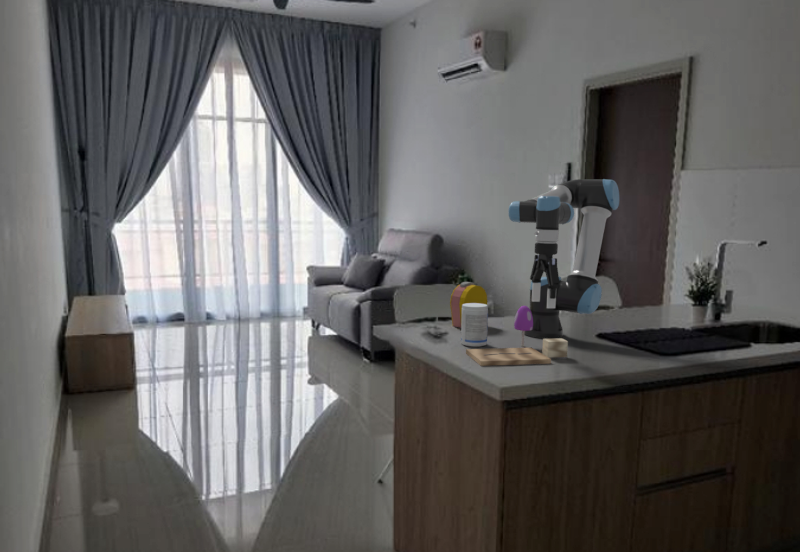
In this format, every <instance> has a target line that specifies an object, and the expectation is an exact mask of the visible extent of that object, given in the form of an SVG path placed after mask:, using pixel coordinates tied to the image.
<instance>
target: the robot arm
mask: <svg viewBox="0 0 800 552" xmlns="http://www.w3.org/2000/svg"><path fill="white" fill-rule="evenodd" d="M508 206H509V207H508V217H509V220H510V221H511V222H514V223H524V224H525V223H526V224H527V223H529V224H531V223H532V224H535V232H534V233H533V234H534V235H535V237H534V240H535V241H536V242H535V243H534V261H533V263H532V268H531V273H530V277H529V280H530V281H531V282H530V286H529V287H530V288H529V307H528V308H529V309H530V311H531V313H532V317H533V329H532V330H530V331H525V332H524V336H525V335H526V336H527V337H531V338H538V339H558V338H562V337H564V335H563V334H564V330H563V326H562V322H561V318H560V311H561V312H568V313H576V314H580V315H583V314H584V315H585V314H586V315H591V314H593V313H594V312H595V311H597V309H598V307H599V305H600V303H601V300H602V295H603V294H602V293H603V292H602V291H603V290H602V289H603V288H602V286H601V285H600V284H599V280H598V278H597V277H596V274H597V269H598V263H599V259H600V254H601V248H602V243H603V238H604V232H605V227H606V222H607V219H608V218H609V217H611V216H612V213H613V211H616V210H617V209H618V207H619V206H620V191H619V186H618V184H617V182H616V181H615V180H613V179H605V178H603V179H596V178H595V179H590V178H589V179H588V178H587V179H586V178H585V179H582V178H581V179H580V178H579V179H571V180H567V181H565V182H562V183H558V184H557V185H555V186H553V187H552V188H551V189H550V190H549V191H547V192H544V193H541V194H539V195H537V196H535V197H532V198H530V199H527V200H524V201H523V200H522V201H520V200H514V201H512V202H511V203H510V205H508ZM574 209H580V212H581V213H582V215H583V218H582V223H581V228H580V233H579V237H578V244H577V247H576V252H575V258H574V263H573V268H572V271H571V272H570V273H569V274H567V277H566V280H562V277H561V276H560V275H559V269H558V258H555V257H554V255H557V254H558V247H559V245H558V242H559V233H560V230H559V227H560V225H565V224H568V223H570V222H571V221H572V220H573V219H574V216H575V210H574ZM553 257H554V258H553ZM544 273H545V276H544Z"/></svg>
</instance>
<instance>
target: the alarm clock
mask: <svg viewBox="0 0 800 552" xmlns="http://www.w3.org/2000/svg"><path fill="white" fill-rule="evenodd" d="M488 302H489V301H488V294H487V292H486V290H485V288H483V286H482V285H477V284H476V283H474V282H471V281H462V282H461V283H460V284H458V285H457V286H456V287H455V288H454V289H453V290H452V293H451V294H450V299H449V305H450V313H451V323H452V324H451V325H452V327H456V328H460V329H461V320H462V305H463V304H466V303H481V304H486V305H487V306H488Z"/></svg>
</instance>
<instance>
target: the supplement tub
mask: <svg viewBox="0 0 800 552" xmlns="http://www.w3.org/2000/svg"><path fill="white" fill-rule="evenodd" d="M488 318H489V310H488V304H487V305H486V304H481V303H466V304H463V305H462V320H461V328H460V329H461V331H460V335H461V336H460V343H461V344H462V345H463V346H466V347H474V348H475V347H476V348H478V347H479V348H480V347H484V346H486V345H487V344H488V326H489V325H488V324H489V322H488V321H489V320H488Z"/></svg>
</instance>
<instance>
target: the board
mask: <svg viewBox="0 0 800 552" xmlns="http://www.w3.org/2000/svg"><path fill="white" fill-rule="evenodd" d="M465 349H466V348H465ZM465 354H466V355H467V356H469V358H470V359H472V360H473V361H474V362H476V363H477V364H478V365H479V366H480V367H484V366H486V367H487V366H517V365H546V364H549V365H550V364H552V359H550V358H548V357H547V356H545V355H543V354H542V352H540V351H538V350H537V349H535V348H533V347H505V348H501V347H500V348H498V347H495V348H467V349H466V350H465Z"/></svg>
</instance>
